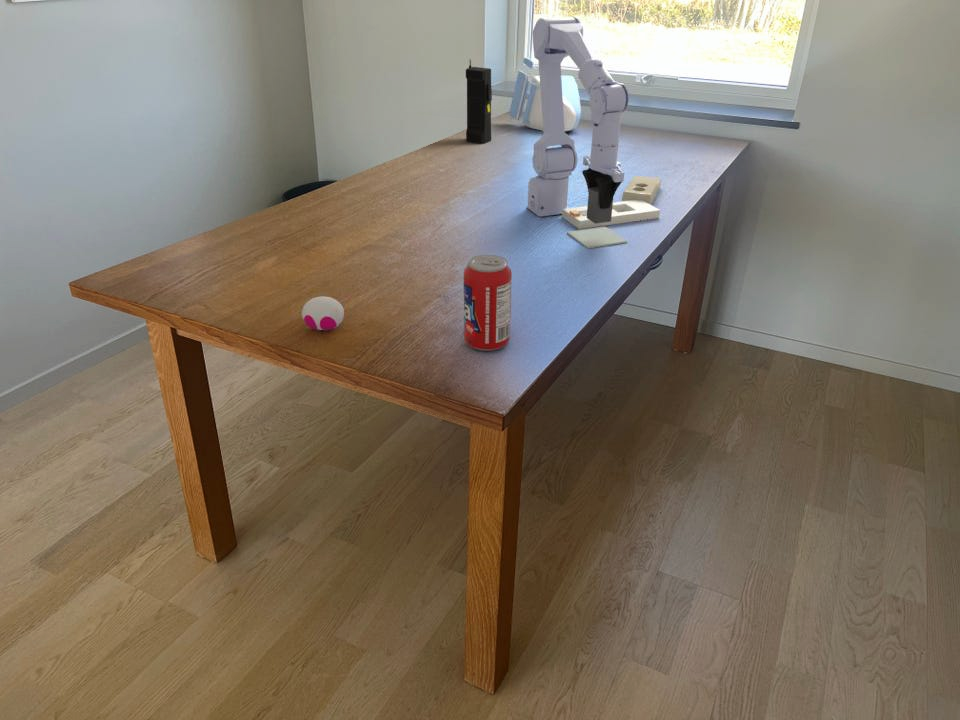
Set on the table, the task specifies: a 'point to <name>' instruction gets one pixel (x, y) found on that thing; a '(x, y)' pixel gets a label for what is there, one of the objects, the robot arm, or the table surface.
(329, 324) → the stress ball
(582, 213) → the power strip
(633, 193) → the electrical outlet
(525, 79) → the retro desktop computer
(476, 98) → the portable radio
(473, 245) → the table surface
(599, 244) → the mat
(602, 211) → the charger
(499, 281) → the soda can
